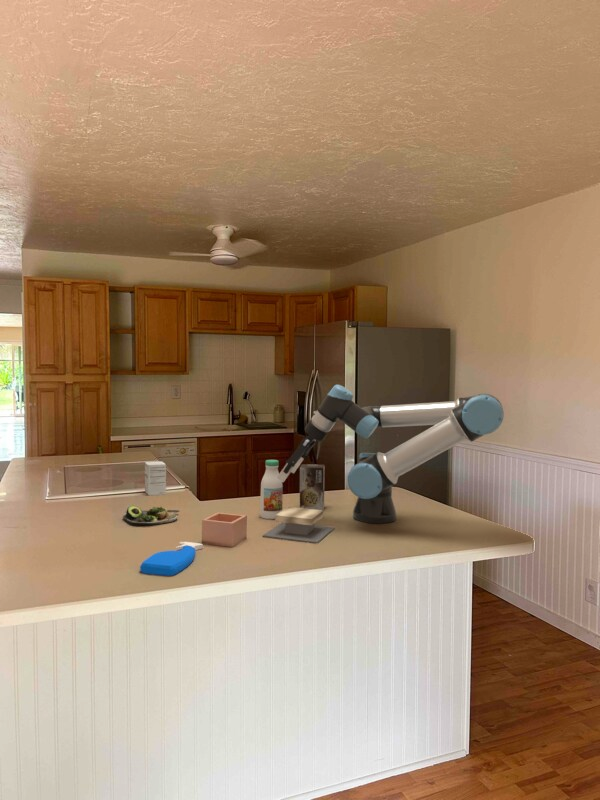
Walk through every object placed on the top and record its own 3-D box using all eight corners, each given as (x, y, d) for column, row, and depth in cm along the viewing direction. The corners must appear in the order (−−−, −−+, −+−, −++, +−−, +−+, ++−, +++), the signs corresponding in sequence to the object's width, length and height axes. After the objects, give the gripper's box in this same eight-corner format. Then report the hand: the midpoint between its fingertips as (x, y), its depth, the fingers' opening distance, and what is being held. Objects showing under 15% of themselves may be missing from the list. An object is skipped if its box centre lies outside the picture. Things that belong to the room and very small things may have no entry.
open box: (246, 538, 185) (246, 515, 185) (232, 547, 176) (232, 523, 175) (217, 534, 188) (217, 512, 188) (201, 543, 179) (202, 519, 179)
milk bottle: (256, 517, 210) (256, 460, 209) (267, 513, 217) (268, 458, 216) (275, 520, 206) (276, 462, 205) (286, 515, 213) (287, 459, 212)
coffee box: (324, 506, 228) (325, 464, 227) (323, 510, 222) (324, 467, 221) (300, 505, 229) (301, 463, 228) (298, 509, 223) (299, 466, 222)
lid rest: (334, 528, 197) (334, 515, 197) (317, 543, 180) (317, 529, 180) (283, 522, 203) (283, 509, 203) (262, 537, 187) (262, 522, 186)
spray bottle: (175, 567, 150) (211, 540, 174) (135, 562, 153) (176, 537, 177) (175, 578, 151) (211, 550, 175) (135, 574, 153) (176, 547, 177)
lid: (323, 516, 195) (323, 510, 195) (311, 525, 184) (311, 519, 184) (288, 512, 199) (289, 506, 199) (275, 521, 188) (275, 515, 188)
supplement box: (144, 492, 248) (144, 461, 247) (162, 490, 251) (162, 460, 250) (147, 495, 241) (147, 464, 240) (166, 494, 244) (166, 463, 244)
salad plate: (170, 510, 219) (170, 498, 219) (190, 521, 204) (190, 508, 204) (117, 517, 209) (117, 504, 208) (134, 529, 194) (134, 515, 193)
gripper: (318, 415, 215) (286, 461, 220) (301, 424, 191) (266, 476, 196) (335, 427, 214) (303, 474, 219) (320, 438, 190) (284, 490, 195)
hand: (285, 475), depth 208 cm, fingers open, 13 cm apart
